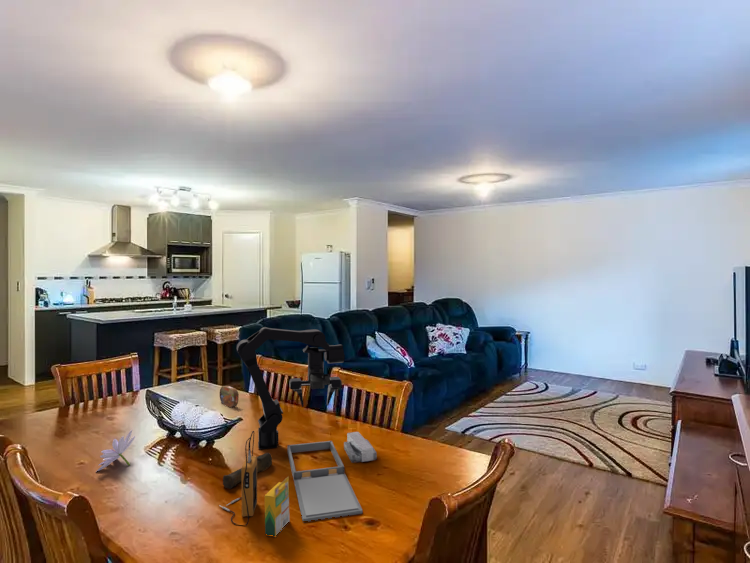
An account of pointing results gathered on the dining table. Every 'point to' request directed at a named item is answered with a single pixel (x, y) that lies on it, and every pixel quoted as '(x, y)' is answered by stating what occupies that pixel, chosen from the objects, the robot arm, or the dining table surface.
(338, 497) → the case
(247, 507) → the multimeter
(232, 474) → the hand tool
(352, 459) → the stay bracket
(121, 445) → the lavender daisy flower
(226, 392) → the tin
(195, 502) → the dining table surface
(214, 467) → the dining table surface
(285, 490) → the crayon box
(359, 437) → the white square bar
